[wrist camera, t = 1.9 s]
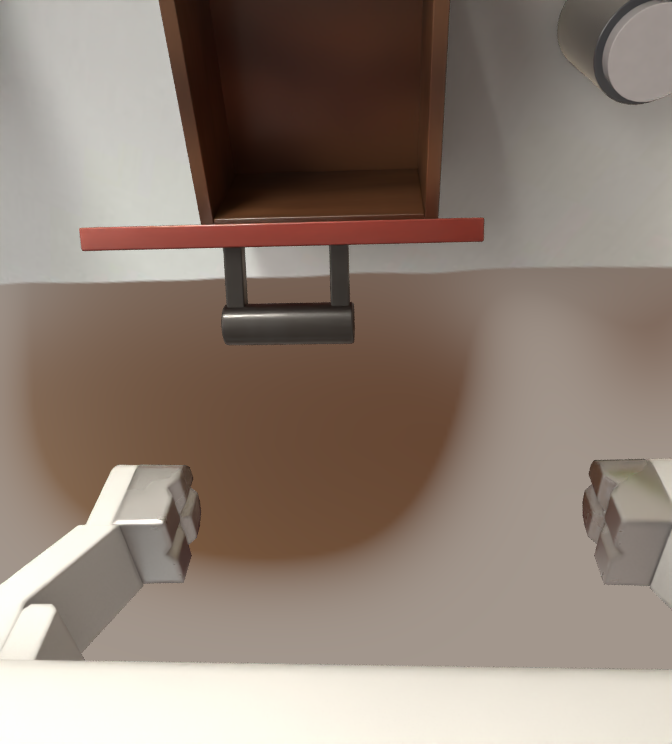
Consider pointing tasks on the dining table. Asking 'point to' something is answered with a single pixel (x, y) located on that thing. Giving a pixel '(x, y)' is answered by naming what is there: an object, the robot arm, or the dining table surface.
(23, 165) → the dining table surface
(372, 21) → the chest
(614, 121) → the dining table surface
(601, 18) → the cylinder
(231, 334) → the lid
